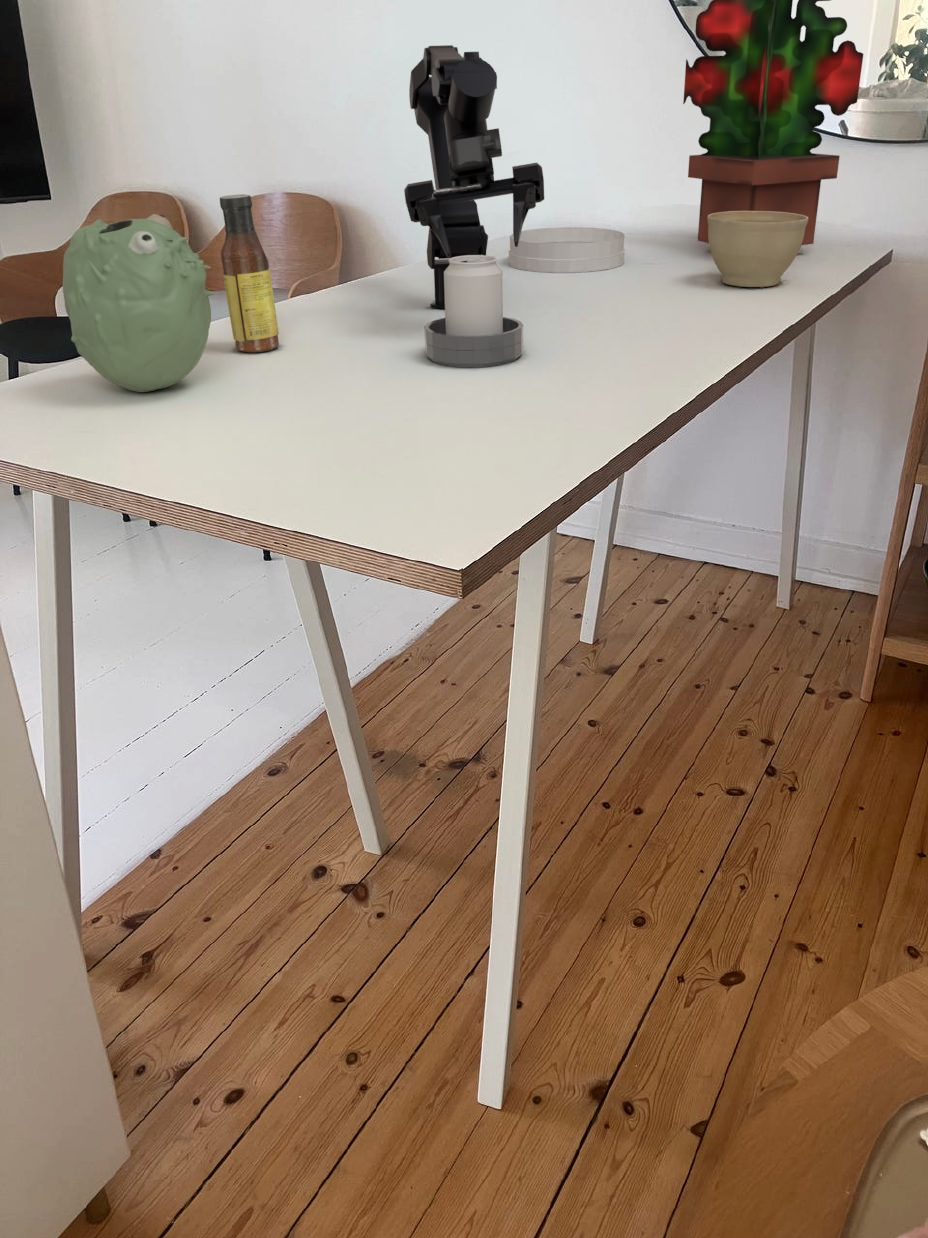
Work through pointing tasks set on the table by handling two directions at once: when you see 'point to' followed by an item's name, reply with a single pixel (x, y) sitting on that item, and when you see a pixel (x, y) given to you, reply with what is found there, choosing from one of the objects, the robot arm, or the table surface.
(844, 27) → the potted plant
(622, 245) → the dish
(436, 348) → the pan
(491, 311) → the can
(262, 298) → the sauce bottle
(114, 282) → the green pufferfish figure
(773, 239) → the planter bowl
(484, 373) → the table surface
